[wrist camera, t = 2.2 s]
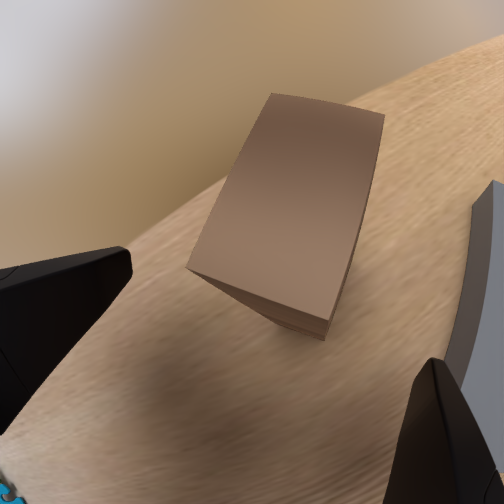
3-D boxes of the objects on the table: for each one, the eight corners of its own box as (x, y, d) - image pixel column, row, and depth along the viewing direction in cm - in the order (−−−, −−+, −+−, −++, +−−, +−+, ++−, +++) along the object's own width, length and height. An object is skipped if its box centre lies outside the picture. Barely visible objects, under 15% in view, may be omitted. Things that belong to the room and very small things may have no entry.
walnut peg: (324, 340, 16) (328, 320, 5) (275, 323, 17) (185, 267, 6) (351, 260, 17) (385, 114, 6) (305, 245, 18) (271, 93, 7)
